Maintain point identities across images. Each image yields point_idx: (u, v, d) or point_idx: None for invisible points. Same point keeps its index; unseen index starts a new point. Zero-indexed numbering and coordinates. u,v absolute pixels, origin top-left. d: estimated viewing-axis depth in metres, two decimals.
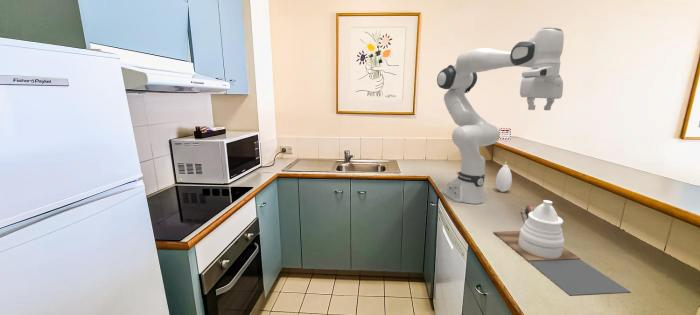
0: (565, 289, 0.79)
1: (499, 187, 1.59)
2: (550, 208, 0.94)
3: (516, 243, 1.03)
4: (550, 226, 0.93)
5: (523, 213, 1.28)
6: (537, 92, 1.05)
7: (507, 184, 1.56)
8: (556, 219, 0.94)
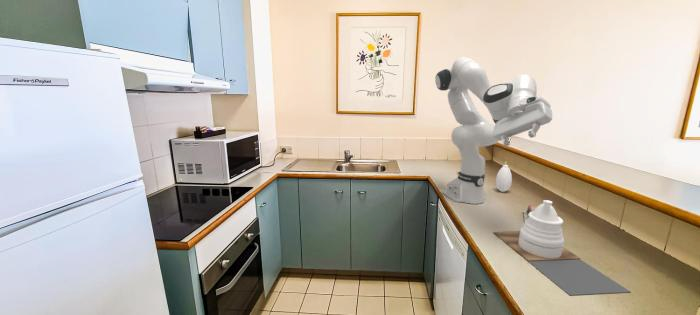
0: (565, 289, 0.79)
1: (499, 187, 1.59)
2: (550, 208, 0.94)
3: (516, 243, 1.03)
4: (550, 226, 0.93)
5: (524, 213, 1.28)
6: None
7: (507, 184, 1.56)
8: (556, 219, 0.94)
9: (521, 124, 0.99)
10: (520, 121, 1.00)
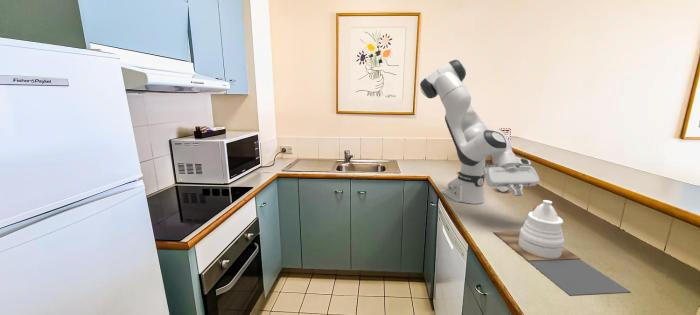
0: (565, 289, 0.79)
1: (499, 187, 1.59)
2: (550, 208, 0.95)
3: (516, 243, 1.03)
4: (550, 226, 0.93)
5: (528, 213, 1.28)
6: None
7: None
8: (556, 219, 0.94)
9: (520, 181, 1.11)
10: (517, 177, 1.12)
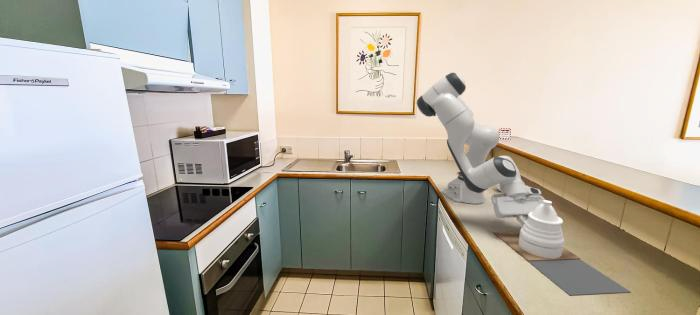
0: (565, 289, 0.79)
1: (499, 187, 1.59)
2: (550, 208, 0.94)
3: (516, 243, 1.03)
4: (550, 226, 0.93)
5: None
6: None
7: None
8: (556, 219, 0.94)
9: None
10: (527, 208, 1.07)
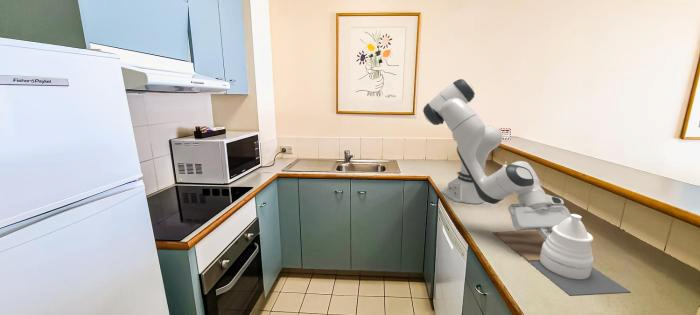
0: (565, 289, 0.79)
1: None
2: (578, 223, 0.84)
3: (516, 243, 1.03)
4: (578, 244, 0.83)
5: None
6: None
7: None
8: (585, 236, 0.83)
9: (553, 224, 0.96)
10: (549, 219, 0.96)
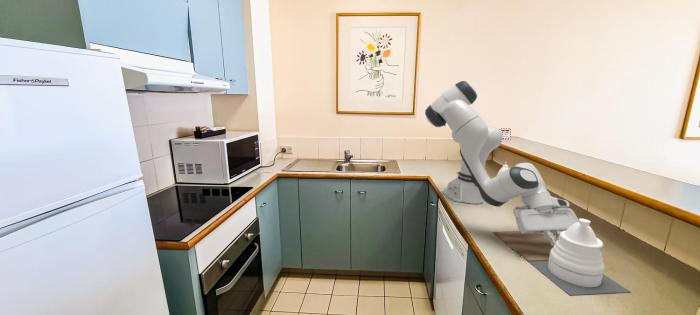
0: (565, 289, 0.79)
1: None
2: (587, 228, 0.81)
3: (516, 243, 1.03)
4: (588, 249, 0.80)
5: None
6: None
7: None
8: (595, 241, 0.80)
9: (559, 227, 0.94)
10: (555, 222, 0.95)
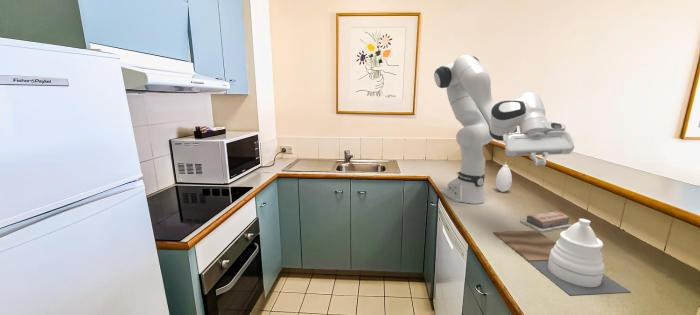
0: (565, 289, 0.79)
1: (499, 187, 1.59)
2: (587, 228, 0.81)
3: (516, 243, 1.03)
4: (588, 249, 0.80)
5: None
6: None
7: (507, 184, 1.56)
8: (595, 241, 0.80)
9: (545, 148, 0.97)
10: (542, 144, 0.98)
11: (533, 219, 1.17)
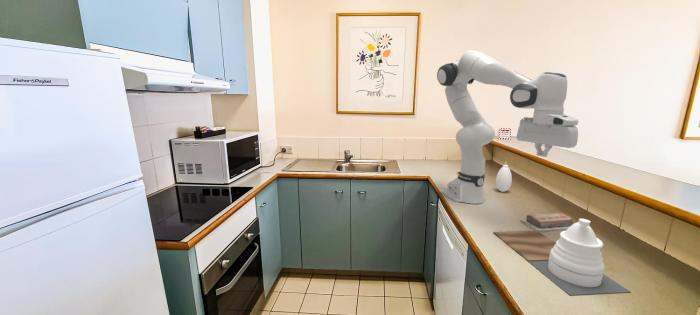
0: (565, 289, 0.79)
1: (499, 187, 1.59)
2: (587, 228, 0.81)
3: (516, 243, 1.03)
4: (588, 249, 0.80)
5: None
6: None
7: (507, 184, 1.56)
8: (595, 241, 0.80)
9: (545, 143, 1.02)
10: (544, 138, 1.02)
11: (532, 219, 1.18)
